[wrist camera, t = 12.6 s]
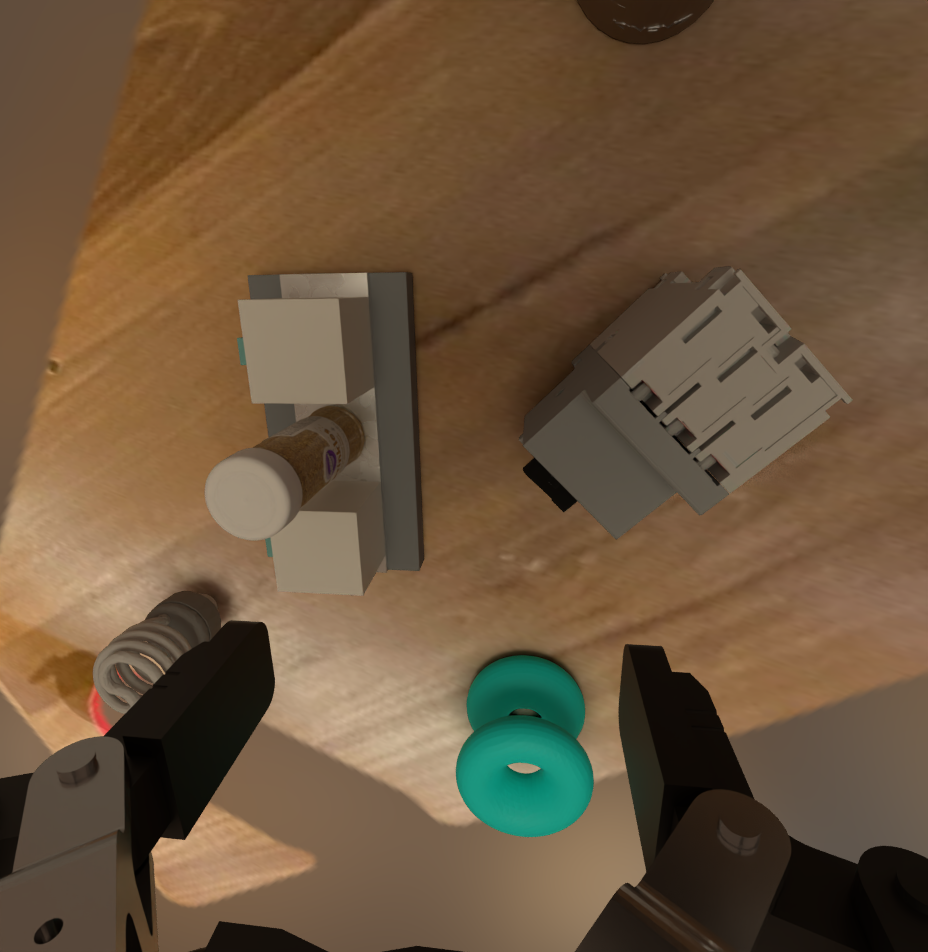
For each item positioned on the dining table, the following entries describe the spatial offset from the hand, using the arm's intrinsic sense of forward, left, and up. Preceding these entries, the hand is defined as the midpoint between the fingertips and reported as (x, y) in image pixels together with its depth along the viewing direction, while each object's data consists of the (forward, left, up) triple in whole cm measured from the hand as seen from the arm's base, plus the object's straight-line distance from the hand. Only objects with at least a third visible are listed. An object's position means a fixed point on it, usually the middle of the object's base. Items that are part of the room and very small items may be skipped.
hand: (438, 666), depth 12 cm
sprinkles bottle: (+2, -12, -28) cm, 30 cm away
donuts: (+26, +2, -30) cm, 40 cm away
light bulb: (+18, -26, -30) cm, 44 cm away
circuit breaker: (-1, +8, -30) cm, 31 cm away
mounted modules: (+2, -12, -28) cm, 30 cm away
